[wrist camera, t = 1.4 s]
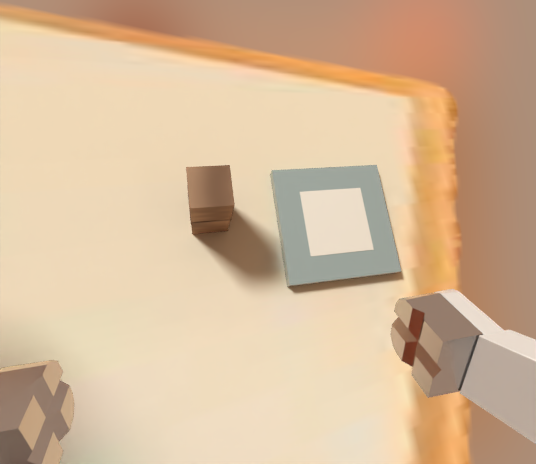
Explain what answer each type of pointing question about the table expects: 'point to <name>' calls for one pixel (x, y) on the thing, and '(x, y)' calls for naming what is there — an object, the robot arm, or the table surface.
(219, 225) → the walnut block
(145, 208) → the table surface
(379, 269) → the plate
